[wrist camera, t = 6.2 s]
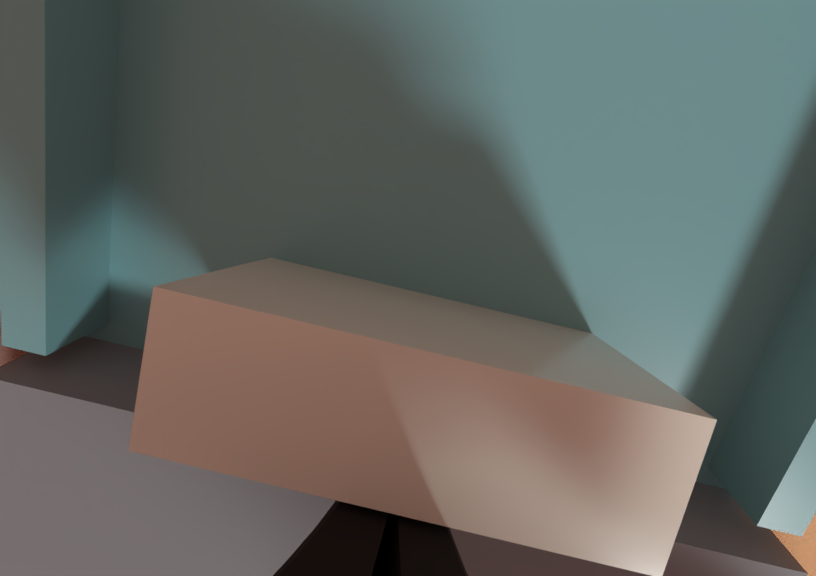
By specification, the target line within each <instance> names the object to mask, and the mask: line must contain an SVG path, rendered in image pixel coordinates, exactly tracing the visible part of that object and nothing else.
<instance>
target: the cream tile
mask: <svg viewBox="0 0 816 576" xmlns="http://www.w3.org/2000/svg"><path fill="white" fill-rule="evenodd" d="M716 422H717V419H715V418H714V417H712V416H711V415H709V414H708V413H707V412H705V411H704V410H702V409H701V408H699V407H698V406H696V405H695V404H694V403H692V402H691V401H689V400H688V399H686V398H685V397H683V396H682V395H681V394H679V393H678V392H676V391H675V390H673V389H672V388H670V387H669V386H668V385H666V384H665V383H663V382H662V381H660V380H659V379H657V378H656V377H655V376H653V375H652V374H650V373H649V372H647V371H646V370H644V369H643V368H642V367H640V366H639V365H637V364H636V363H634V362H633V361H631V360H630V359H629V358H627V357H626V356H624V355H623V354H621V353H620V352H618V351H617V350H616V349H614V348H613V347H611V346H610V345H608V344H607V343H605V342H604V341H603V340H601V339H600V338H598V337H597V336H595V335H594V334H592V333H589V332H584V331H580V330H576V329H572V328H567V327H563V326H559V325H555V324H550V323H546V322H542V321H538V320H533V319H529V318H525V317H521V316H516V315H512V314H508V313H504V312H500V311H495V310H491V309H487V308H483V307H478V306H474V305H470V304H466V303H461V302H457V301H453V300H449V299H444V298H440V297H436V296H432V295H428V294H423V293H419V292H415V291H411V290H406V289H402V288H398V287H394V286H389V285H385V284H381V283H377V282H372V281H368V280H364V279H360V278H355V277H351V276H347V275H343V274H339V273H334V272H330V271H326V270H322V269H317V268H313V267H309V266H305V265H300V264H296V263H292V262H288V261H283V260H279V259H275V258H267V259H263V260H259V261H255V262H250V263H246V264H242V265H238V266H234V267H230V268H226V269H222V270H218V271H214V272H210V273H206V274H202V275H198V276H194V277H190V278H185V279H181V280H177V281H173V282H169V283H165V284H161V285H157V286H153V292H152V299H151V305H150V312H149V318H148V325H147V331H146V338H145V345H144V351H143V358H142V364H141V371H140V378H139V384H138V391H137V397H136V404H135V410H134V417H133V424H132V430H131V437H130V443H129V450H128V451H131V452H136V453H140V454H144V455H148V456H152V457H157V458H161V459H165V460H169V461H173V462H177V463H182V464H186V465H190V466H194V467H198V468H203V469H207V470H211V471H215V472H219V473H224V474H228V475H232V476H236V477H240V478H244V479H249V480H253V481H257V482H261V483H265V484H270V485H274V486H278V487H282V488H286V489H290V490H295V491H299V492H303V493H307V494H311V495H316V496H320V497H324V498H328V499H332V500H337V501H341V502H345V503H349V504H353V505H357V506H362V507H366V508H370V509H374V510H378V511H383V512H387V513H391V514H395V515H399V516H404V517H408V518H412V519H416V520H420V521H424V522H429V523H433V524H437V525H441V526H445V527H450V528H454V529H458V530H462V531H466V532H470V533H475V534H479V535H483V536H487V537H491V538H496V539H500V540H504V541H508V542H512V543H517V544H521V545H525V546H529V547H533V548H537V549H542V550H546V551H550V552H554V553H558V554H563V555H567V556H571V557H575V558H579V559H583V560H588V561H592V562H596V563H600V564H604V565H609V566H613V567H617V568H621V569H625V570H630V571H634V572H638V573H642V574H646V575H650V576H663V573H664V570H665V567H666V564H667V561H668V559H669V556H670V553H671V550H672V547H673V544H674V541H675V539H676V536H677V533H678V530H679V527H680V524H681V522H682V519H683V516H684V513H685V510H686V507H687V504H688V502H689V499H690V496H691V493H692V490H693V487H694V484H695V482H696V479H697V476H698V473H699V470H700V467H701V464H702V462H703V459H704V456H705V453H706V450H707V447H708V445H709V442H710V439H711V436H712V433H713V430H714V427H715V425H716Z"/></svg>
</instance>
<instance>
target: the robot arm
mask: <svg viewBox="0 0 816 576" xmlns="http://www.w3.org/2000/svg"><path fill="white" fill-rule="evenodd" d="M273 576H468V574H467V572H466V570H465V567H464V565H463V562H462V559H461V557H460V554H459V552H458V549H457V547H456V544H455V542H454V539H453V536H452V534H451V531H450V528H449V527H445V526H441V525H437V524H433V523H429V522H424V521H420V520H416V519H412V518H408V517H404V516H399V515H395V514H391V513H387V512H383V511H378V510H374V509H370V508H366V507H362V506H357V505H353V504H349V503H345V502H341V501H337V500H336V501H335V502H334V504H333V505H332V506H331V508H330V509H329V510H328V511H327V513H326V514H325V515H324V517H323V518H322V519H321V521H320V522H319V523H318V525H317V526H316V527H315V528H314V530H313V531H312V532H311V533H310V534H309V535H308V537H307V538H306V539H305V540H304V541H303V542H302V544H301V545H300V546H299V547H298V548H297V549H296V550H295V552H294V553H293V554H292V555H291V556H290V557H289V558H288V560H287V561H286V562H285V563H284V564H283V565H282V566H281V567H280V568H279V569H278V570H277V572H276V573H275V574H274V575H273Z"/></svg>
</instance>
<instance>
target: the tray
mask: <svg viewBox="0 0 816 576" xmlns="http://www.w3.org/2000/svg"><path fill="white" fill-rule="evenodd" d="M267 258H275V259H279V260H283V261H288V262H292V263H296V264H300V265H305V266H309V267H313V268H317V269H322V270H326V271H330V272H334V273H339V274H343V275H347V276H351V277H355V278H360V279H364V280H368V281H372V282H377V283H381V284H385V285H389V286H394V287H398V288H402V289H406V290H411V291H415V292H419V293H423V294H428V295H432V296H436V297H440V298H444V299H449V300H453V301H457V302H461V303H466V304H470V305H474V306H478V307H483V308H487V309H491V310H495V311H500V312H504V313H508V314H512V315H516V316H521V317H525V318H529V319H533V320H538V321H542V322H546V323H550V324H555V325H559V326H563V327H567V328H572V329H576V330H580V331H584V332H589V333H592V334H594V335H595V336H597V337H598V338H600V339H601V340H603V341H604V342H605V343H607V344H608V345H610V346H611V347H613V348H614V349H616V350H617V351H618V352H620V353H621V354H623V355H624V356H626V357H627V358H629V359H630V360H631V361H633V362H634V363H636V364H637V365H639V366H640V367H642V368H643V369H644V370H646V371H647V372H649V373H650V374H652V375H653V376H655V377H656V378H657V379H659V380H660V381H662V382H663V383H665V384H666V385H668V386H669V387H670V388H672V389H673V390H675V391H676V392H678V393H679V394H681V395H682V396H683V397H685V398H686V399H688V400H689V401H691V402H692V403H694V404H695V405H696V406H698V407H699V408H701V409H702V410H704V411H705V412H707V413H708V414H709V415H711V416H712V417H714V418H715V419H717V422H716V425H715V427H714V430H713V433H712V436H711V439H710V442H709V445H708V447H707V450H706V453H705V456H704V459H703V462H702V464H701V467H700V470H699V473H698V476H697V479H696V482H699V483H703V484H708V485H712V486H716V487H720V488H724V489H727V491H728V492H729V493H730V494H731V495H732V497H733V498H734V499H735V500H736V501H737V503H738V504H739V505H740V506H741V507H742V509H743V510H744V511H745V512H746V514H747V515H748V516H749V517H750V518H751V520H752V521H753V522H754V523H755V524H756V526H759V527H763V528H768V529H772V530H776V531H780V532H784V533H788V534H793V535H797V536H801V537H802V535H803V533H804V532H805V530H806V528H807V527H808V525H809V523H810V522H811V520H812V518H813V517H814V515H815V513H816V0H0V308H1V339H2V346H6V347H10V348H14V349H18V350H23V351H27V352H31V353H35V354H39V355H43V356H47V355H49V354H51V353H53V352H54V351H56V350H58V349H60V348H62V347H64V346H66V345H68V344H70V343H72V342H74V341H76V340H77V339H79V338H81V337H83V336H87V337H91V338H95V339H100V340H104V341H108V342H112V343H116V344H121V345H125V346H129V347H133V348H137V349H142V350H144V345H145V338H146V331H147V325H148V318H149V312H150V305H151V299H152V292H153V286H157V285H161V284H165V283H169V282H173V281H177V280H181V279H185V278H190V277H194V276H198V275H202V274H206V273H210V272H214V271H218V270H222V269H226V268H230V267H234V266H238V265H242V264H246V263H250V262H255V261H259V260H263V259H267Z"/></svg>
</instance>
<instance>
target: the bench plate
mask: <svg viewBox="0 0 816 576" xmlns="http://www.w3.org/2000/svg"><path fill="white" fill-rule="evenodd" d="M143 351H144V350H142V349H137V348H133V347H129V346H125V345H121V344H116V343H112V342H108V341H104V340H100V339H95V338H91V337H87V336H83V337H81V338H79V339H77V340H76V341H74V342H72V343H70V344H68V345H66V346H64V347H62V348H60V349H58V350H56V351H54V352H53V353H51V354H49V355H47V356H43V355H39V354H35V353H31V352H29V353H27V354H25V355H23V356H21V357H19V358H17V359H15V360H13V361H11V362H9V363H7V364H5V365H3V366H1V367H0V576H273V575H274V574H275V573H276V572H277V570H278V569H279V568H280V567H281V566H282V565H283V564H284V563H285V562H286V561H287V560H288V558H289V557H290V556H291V555H292V554H293V553H294V552H295V550H296V549H297V548H298V547H299V546H300V545H301V544H302V542H303V541H304V540H305V539H306V538H307V537H308V535H309V534H310V533H311V532H312V531H313V530H314V528H315V527H316V526H317V525H318V523H319V522H320V521H321V519H322V518H323V517H324V515H325V514H326V513H327V511H328V510H329V509H330V508H331V506H332V505H333V504H334V502H335V501H336V500H332V499H328V498H324V497H320V496H316V495H311V494H307V493H303V492H299V491H295V490H290V489H286V488H282V487H278V486H274V485H270V484H265V483H261V482H257V481H253V480H249V479H244V478H240V477H236V476H232V475H228V474H224V473H219V472H215V471H211V470H207V469H203V468H198V467H194V466H190V465H186V464H182V463H177V462H173V461H169V460H165V459H161V458H157V457H152V456H148V455H144V454H140V453H136V452H131V451H128V450H129V443H130V437H131V430H132V424H133V417H134V410H135V404H136V397H137V391H138V384H139V378H140V371H141V364H142V358H143ZM449 528H450V527H449ZM450 531H451V534H452V536H453V539H454V542H455V544H456V547H457V549H458V552H459V554H460V557H461V559H462V562H463V565H464V567H465V570H466V572H467V574H468V576H650V575H646V574H642V573H638V572H634V571H630V570H625V569H621V568H617V567H613V566H609V565H604V564H600V563H596V562H592V561H588V560H583V559H579V558H575V557H571V556H567V555H563V554H558V553H554V552H550V551H546V550H542V549H537V548H533V547H529V546H525V545H521V544H517V543H512V542H508V541H504V540H500V539H496V538H491V537H487V536H483V535H479V534H475V533H470V532H466V531H462V530H458V529H454V528H450ZM807 574H808V573H807V572H806V571H805V570H804V569H803V567H802V566H801V565H800V564H799V563H798V562H797V560H796V559H795V558H794V557H793V556H792V555H791V553H790V552H789V551H788V550H787V549H786V548H785V546H784V545H783V544H782V543H781V542H780V541H779V539H778V538H777V537H776V536H775V535H774V534H773V532H772V531H771V530H770V529H768V528H763V527H759V526H756V524H755V523H754V522H753V521H752V520H751V518H750V517H749V516H748V515H747V514H746V512H745V511H744V510H743V509H742V507H741V506H740V505H739V504H738V503H737V501H736V500H735V499H734V498H733V497H732V495H731V494H730V493H729V492H728V491H727V489H724V488H720V487H716V486H712V485H708V484H703V483H699V482H695V484H694V487H693V490H692V493H691V496H690V499H689V502H688V504H687V507H686V510H685V513H684V516H683V519H682V522H681V524H680V527H679V530H678V533H677V536H676V539H675V541H674V544H673V547H672V550H671V553H670V556H669V559H668V561H667V564H666V567H665V570H664V573H663V576H807Z"/></svg>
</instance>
